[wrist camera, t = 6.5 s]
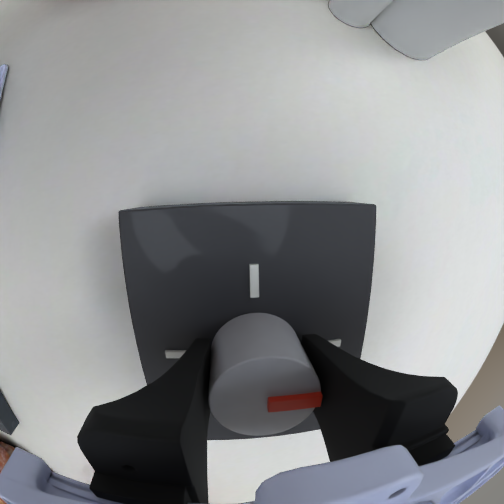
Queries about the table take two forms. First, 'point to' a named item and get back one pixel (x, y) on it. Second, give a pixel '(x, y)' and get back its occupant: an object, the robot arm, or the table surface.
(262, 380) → the knob
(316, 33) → the table surface
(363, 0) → the vase
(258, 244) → the panel
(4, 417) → the button box
